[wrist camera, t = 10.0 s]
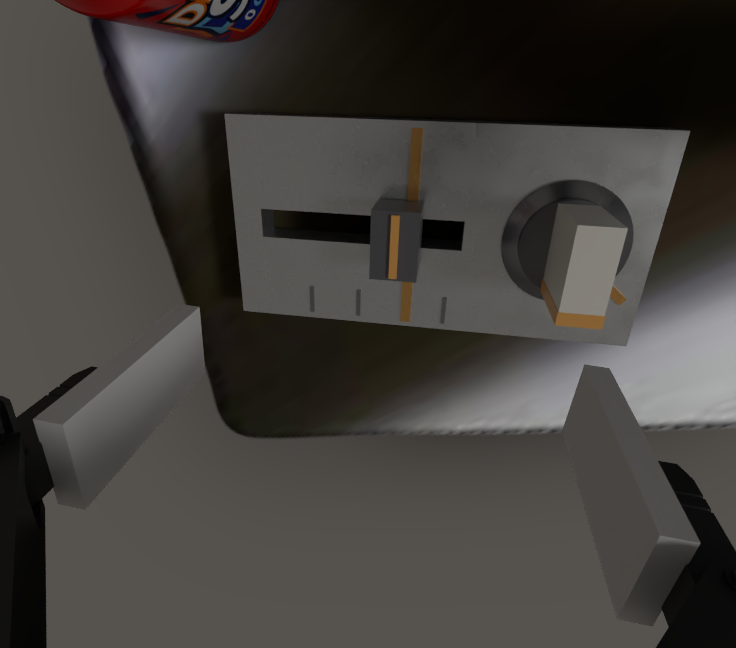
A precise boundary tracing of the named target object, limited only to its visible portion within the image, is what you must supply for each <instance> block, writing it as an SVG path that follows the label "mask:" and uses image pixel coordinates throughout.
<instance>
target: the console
mask: <svg viewBox="0 0 736 648" xmlns="http://www.w3.org/2000/svg"><path fill="white" fill-rule="evenodd" d="M225 125H226V135H227V145H228V155H229V165H230V175H231V186H232V196H233V206H234V216H235V226H236V236H237V247H238V257H239V267H240V277H241V287H242V297H243V307H244V311H253V312H264V313H275V314H285V315H296V316H307V317H318V318H328V319H339V320H350V321H361V322H372V323H382V324H393V325H404V326H415V327H425V328H436V329H447V330H458V331H468V332H479V333H490V334H501V335H511V336H522V337H533V338H544V339H554V340H565V341H576V342H587V343H597V344H608V345H619V346H626V345H627V342H628V338H629V335H630V332H631V328H632V325H633V322H634V318H635V315H636V312H637V308H638V305H639V302H640V298H641V295H642V292H643V288H644V285H645V281H646V278H647V275H648V271H649V268H650V265H651V261H652V258H653V255H654V251H655V248H656V245H657V241H658V238H659V235H660V231H661V228H662V225H663V221H664V218H665V214H666V211H667V208H668V204H669V201H670V198H671V194H672V191H673V188H674V184H675V181H676V178H677V174H678V171H679V168H680V164H681V161H682V157H683V154H684V151H685V147H686V144H687V141H688V137H689V134H690V131H689V130H683V129H678V128H670V127H642V126H615V125H587V124H559V123H531V122H503V121H476V120H448V119H420V118H392V117H364V116H337V115H309V114H281V113H253V112H235V113H226V114H225ZM564 198H582V199H586V200H590V201H592V202H595V203H596V204H598V205H600V206H601V207H602V208H604V209H605V210H606V211H607V212H609V213H610V214H611V215H612V216H613V217H615V218H616V219H617V220H618V221H620V222H621V223H622V224H623V225H625V226H626V227H627V228H628V230H627V234H626V238H625V242H624V245H623V249H622V253H621V257H620V260H619V264H618V268H617V272H616V275H615V279H614V283H613V287H612V290H611V294H610V298H609V302H608V305H607V309H606V313H605V316H606V317H605V321H604V324H603V328H602V330H601V329H590V328H578V327H567V326H556V325H555V324H554V322H553V320H552V317H551V315H550V313H549V310H548V308H547V305H546V303H545V301H544V298H543V296H542V294H541V291H540V288H539V287H537V286H536V285H534V284H533V283H532V282H531V281H530V280H529V279H528V278H527V276H526V275H525V273H524V272H523V270H522V267H521V264H520V261H519V258H518V252H517V246H518V239H519V235H520V233H521V230H522V228H523V226H524V225H525V223H526V222H527V220H528V219H529V218H530V217H531V216H532V215H533V214H534V213H535V212H536V211H537V210H538V209H540V208H541V207H543V206H545V205H546V204H548V203H551V202H553V201H556V200H559V199H564ZM378 199H387V200H404V201H421V202H424V213H423V219H432V220H447V221H463V228H462V237H461V241H460V240H446V239H431V238H422V239H421V253H420V266H419V271H418V276H417V281H416V283H412V282H400V281H388V280H375V279H369V267H370V234H358V233H344V232H329V231H315V230H300V229H285V228H275V226H274V210H290V211H305V212H321V213H337V214H353V215H368V216H371V209H372V208H373V206H374V205H375V203H376V202H377V201H378ZM273 209H274V210H273Z"/></svg>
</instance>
